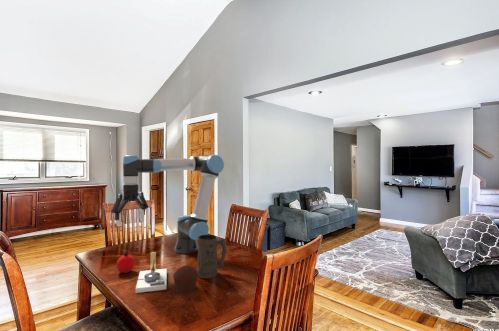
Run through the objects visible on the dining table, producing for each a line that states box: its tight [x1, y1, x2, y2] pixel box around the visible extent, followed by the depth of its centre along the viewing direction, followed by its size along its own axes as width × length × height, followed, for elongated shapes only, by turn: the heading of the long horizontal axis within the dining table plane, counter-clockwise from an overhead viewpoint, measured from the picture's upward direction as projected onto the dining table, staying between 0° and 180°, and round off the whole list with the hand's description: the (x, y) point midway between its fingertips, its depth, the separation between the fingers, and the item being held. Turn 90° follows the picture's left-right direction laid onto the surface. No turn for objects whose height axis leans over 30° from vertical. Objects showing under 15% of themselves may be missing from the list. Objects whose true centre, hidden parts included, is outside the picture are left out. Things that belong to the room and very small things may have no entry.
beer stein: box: [196, 234, 228, 279], centre depth 140 cm, size 15×11×20 cm
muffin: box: [172, 265, 199, 295], centre depth 123 cm, size 12×11×10 cm
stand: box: [135, 268, 168, 294], centre depth 130 cm, size 13×20×4 cm, turn 17°
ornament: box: [116, 252, 136, 274], centre depth 141 cm, size 9×9×10 cm
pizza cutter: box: [144, 251, 160, 282], centre depth 131 cm, size 13×7×10 cm, turn 17°
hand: (130, 223), depth 144 cm, fingers open, 13 cm apart
